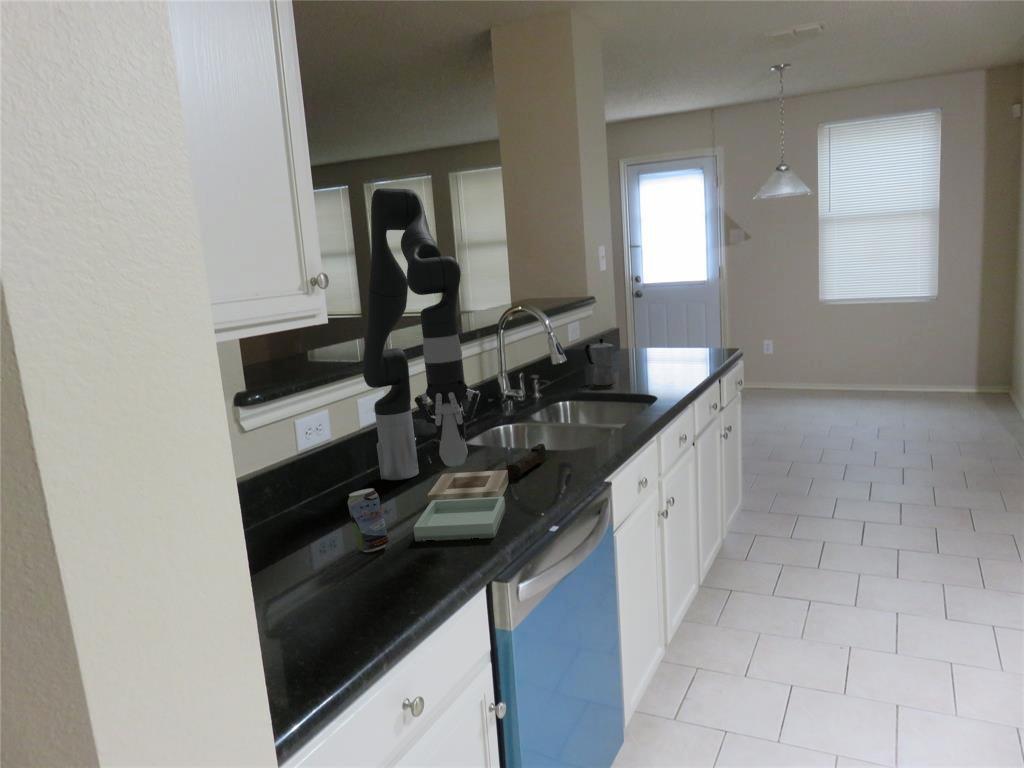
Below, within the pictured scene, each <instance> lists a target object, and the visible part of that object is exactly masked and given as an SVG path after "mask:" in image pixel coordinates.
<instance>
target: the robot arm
mask: <svg viewBox="0 0 1024 768" xmlns="http://www.w3.org/2000/svg"><path fill="white" fill-rule="evenodd" d="M370 204H371V205H370V206H371V207H370V223H371V224H370V229H371V230H370V235H371V237H370V238H371V240H370V241H371V243H370V244H371V254H370V257H371V258H370V267H369V268H370V270H369V271H370V272H369V282H368V295H367V296H368V297H367V298H368V301H367V302H368V305H367V307H368V310H367V329H366V337H365V344H364V351H363V356H362V357H363V359H362V374H363V379H364V382H365V383H366V385H367V386H368V387H369V388H373V389H379V388H384V387H389V386H391V388H390V389H389V391H388V392H387V393H386V394H385V395H383V397H381V398H380V399H378V400H376V401H375V402H374V404H373V406H374V413H375V415H374V416H375V423H376V429H377V437H378V442H377V443H376V450H377V457H378V464H379V471H380V472H379V473H380V474H379V475H380V479H381V480H388V481H399V480H400V481H401V480H407V479H410V478H413V477H416V476H418V474H419V473H420V472H419V463H418V453H417V448H416V447H417V444H416V438H415V430H414V423H413V422H414V421H413V413H412V407H411V401H412V400H411V399H412V397H411V396H412V395H411V394H412V393H411V383H410V370H409V367H410V366H409V362H408V361H409V360H408V358H407V355H406V353H405V352H404V351H403V350H402V349H401V348H399V347H398V348H397V347H395V348H389V349H385V345H386V342H387V340H388V337H389V336H390V334H391V332H392V331H393V330H394V329H395V327H396V326H397V325H398V323H399V322H400V320H401V319H402V317H403V315H404V313H405V311H406V308H407V302H408V291H409V290H408V289H410V291H411V292H413V293H414V294H416V295H418V296H425V295H426V296H427V295H433V294H434V295H436V294H442V297H441V299H440V301H438V302H437V303H435V304H433V305H430V306H427V307H425V308H423V309H421V311H420V323H421V324H420V325H421V331H422V333H421V334H422V339H423V340H422V342H423V343H422V350H423V360H424V369H425V377H426V384H427V386H426V389H425V392H423V393H422V394H418V395H417V396H415V397H414V402H415V404H416V406H417V407H418V409H419V411H420V412H421V414H422V417H423V418H424V420H425V421H426V422H427V424H433V425H434V426H435V427H436V435H437V440H438V441H439V442H440V441H441V437H442V427H443V426H442V414H441V406H442V404H443V403H451V405H452V407H453V411H454V414H455V416H456V419H457V423H458V425H457V429H458V432H459V435H460V438H461V441H462V438H463V439H465V440H466V436H467V429H466V422H470V421H471V420H472V419H473V418H474V416H475V413H476V411H477V410H476V409H477V406H478V403H479V399H480V398H481V392H480V390H474V389H470V388H469V386H468V385H467V384H466V382H465V374H464V373H465V372H464V363H463V351H462V345H461V342H460V338H459V329H458V320H457V303H458V294H459V290H460V283H461V276H462V275H461V274H462V273H461V267H460V264H459V263H458V262H457V260H456V259H455V258H454V257H452V256H449V255H446V256H442V253H441V250H440V248H439V247H438V244H437V243H436V241H435V240H434V238H433V236H432V234H431V231H430V228H429V223H428V219H427V215H426V212H425V209H424V204H423V202H422V199H421V196H420V195H419V193H418V192H417V191H415V190H414V189H411V188H410V189H409V188H389V187H388V188H385V187H383V188H376V189H375V190H374V191H373V193H372V197H371V203H370ZM388 231H404V232H403V233H402V235H401V240H400V249H401V252H402V254H403V256H404V259H405V260H406V263H407V270H406V274H405V272H404V270H403V269H402V267H401V265H400V264H399V262H398V260H397V259H396V257H395V256H394V254H393V252H392V250H391V247H390V245H389V243H388V238H387V232H388ZM466 395H467V400H468V401H469V402H470V403H469V405H468V409H467V412H466V413H464V408H463V404H462V402H463V400H464V399H465V397H466ZM429 400H430V402H432V403H433V404H434V405H435V413H434V414H435V415H434V414H433V411H432V409H431V408H430V406H429V405H428V403H429ZM455 407H456V408H455ZM438 408H439V409H438ZM461 435H462V437H461Z"/></svg>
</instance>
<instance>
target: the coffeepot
mask: <svg viewBox="0 0 1024 768" xmlns="http://www.w3.org/2000/svg"><path fill="white" fill-rule="evenodd" d="M598 341H599V343H596V344H594V343H587V344H586V345H585V347H584V352H585V355H586V359H587V360H588V363H589V365H594V368H593V378H592V384H593V385H594V386H599V385H602V386H610V384H611V385H614V384H616V383H617V380H616V379H617V378H616V375H615V371H614V367H613V365H612V363H613V360H614V352H615V351H614V350H615V349H616V346H615V345H614V344H611V343H606V342H604V338H602V337H601V338H599V339H598ZM590 354H591V355H590Z"/></svg>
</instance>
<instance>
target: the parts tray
mask: <svg viewBox="0 0 1024 768" xmlns="http://www.w3.org/2000/svg"><path fill="white" fill-rule="evenodd" d="M505 512H506V500H505V496H502V497H487V498H468V499H449V500H432V501H431V503H430V504H429V503H428V506H427V507H426V509H425V510H424V511H423V513H422V514H421V515H420V517H419V519H418V520H417V522H416V523H415V524H414V526H413V534H414V542H427V541H426V540H435V541H448V540H449V541H455V540H471V538H472V540H474V539H473V538H479V539H494V537H496V535H497V533H498V531H499V528H500V526H501V522H502V520H503V518H504V515H505ZM421 540H422V541H421Z"/></svg>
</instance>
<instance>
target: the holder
mask: <svg viewBox="0 0 1024 768" xmlns="http://www.w3.org/2000/svg"><path fill="white" fill-rule="evenodd" d="M439 477H440V478H439V479H438V480H437V481H436V483H435V484H434V486H433V487H432V489H431V490H430V491H429V492H428V493H427V501H428V505H429V504H430V503H431V501H432V500H449V499H468V498H487V497H504V494H505V491H506V489H507V487H508V484H509V480H510V479H509V478H508V470H506V469H504V470H485V471H471V472H469V471H468V472H467V471H466V472H452V473H451V472H450V473H442V475H441V476H439Z"/></svg>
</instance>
